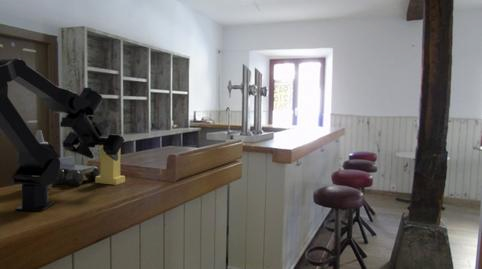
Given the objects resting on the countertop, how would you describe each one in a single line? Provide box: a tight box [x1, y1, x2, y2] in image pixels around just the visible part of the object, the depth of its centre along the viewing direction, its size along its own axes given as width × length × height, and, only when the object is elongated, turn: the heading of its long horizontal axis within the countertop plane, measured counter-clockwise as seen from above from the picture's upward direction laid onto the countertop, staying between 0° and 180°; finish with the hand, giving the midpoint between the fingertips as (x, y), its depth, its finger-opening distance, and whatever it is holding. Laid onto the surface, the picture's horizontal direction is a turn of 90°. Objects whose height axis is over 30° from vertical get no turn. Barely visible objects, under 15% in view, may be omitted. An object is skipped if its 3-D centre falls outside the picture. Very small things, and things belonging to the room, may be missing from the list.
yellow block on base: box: [94, 145, 126, 186], centre depth 118 cm, size 5×8×12 cm, turn 76°
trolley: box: [54, 155, 100, 187], centre depth 116 cm, size 10×11×8 cm
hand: (104, 158), depth 115 cm, fingers open, 9 cm apart
